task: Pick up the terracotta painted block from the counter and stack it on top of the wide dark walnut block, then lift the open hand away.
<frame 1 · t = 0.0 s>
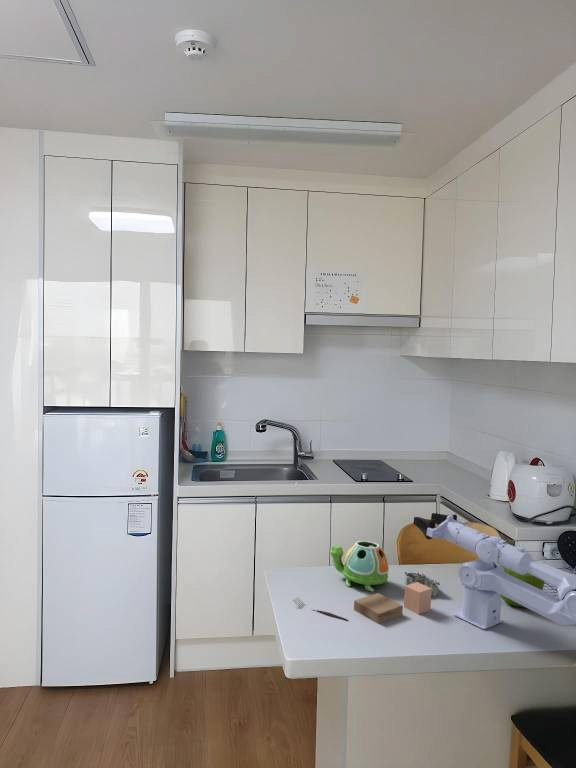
hand: (423, 518, 168), 22 cm above the countertop, tool horizontal, fingers open, 7 cm apart
apple: (518, 603, 166), on the countertop
turtle holder: (360, 582, 175), on the countertop
egg carton: (420, 590, 172), on the countertop
walnut block: (377, 614, 155), on the countertop
terracotta block: (417, 608, 159), on the countertop
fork: (320, 614, 154), on the countertop
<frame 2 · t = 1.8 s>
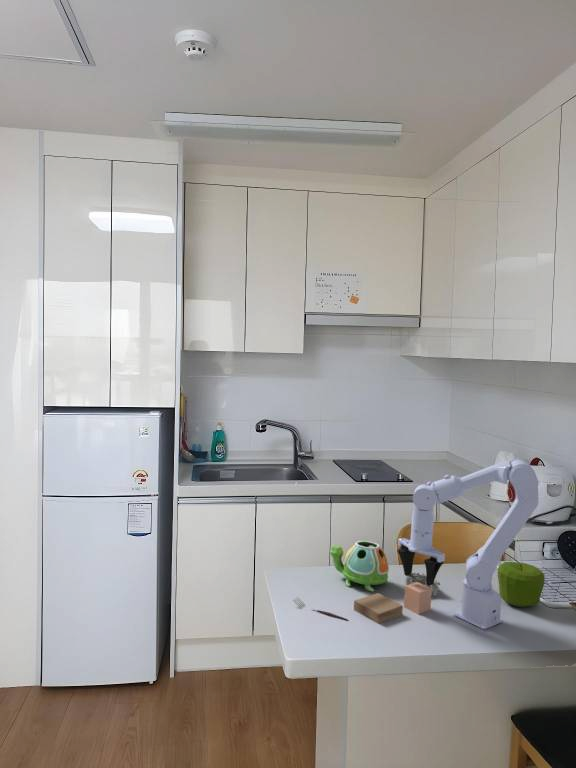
hand: (418, 579, 158), 8 cm above the countertop, tool pointing down, fingers open, 7 cm apart
nothing on the countertop moved.
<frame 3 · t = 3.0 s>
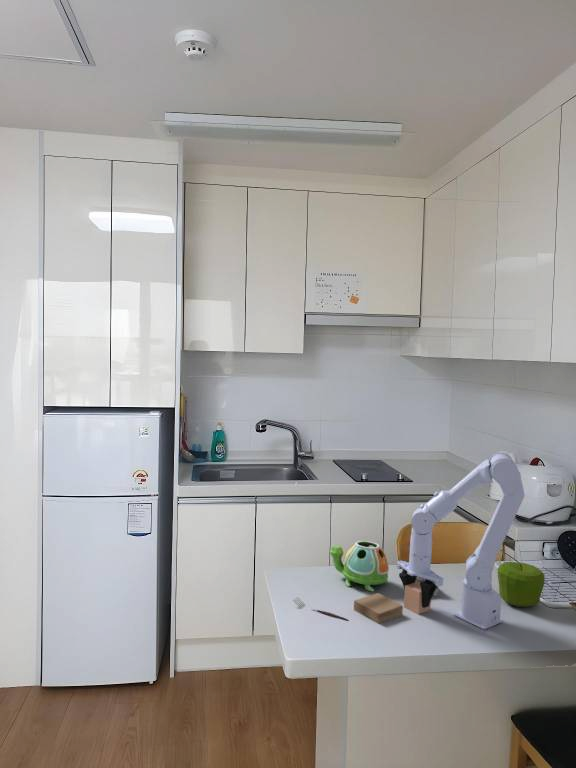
hand: (417, 602, 159), 2 cm above the countertop, tool pointing down, fingers closed on terracotta block, 5 cm apart
terracotta block: (417, 608, 159), on the countertop, touching gripper
everything else where it was.
when the fingers open (6 cm above the countertop, at t = 7.1 s): terracotta block drops 1 cm, resting on walnut block.
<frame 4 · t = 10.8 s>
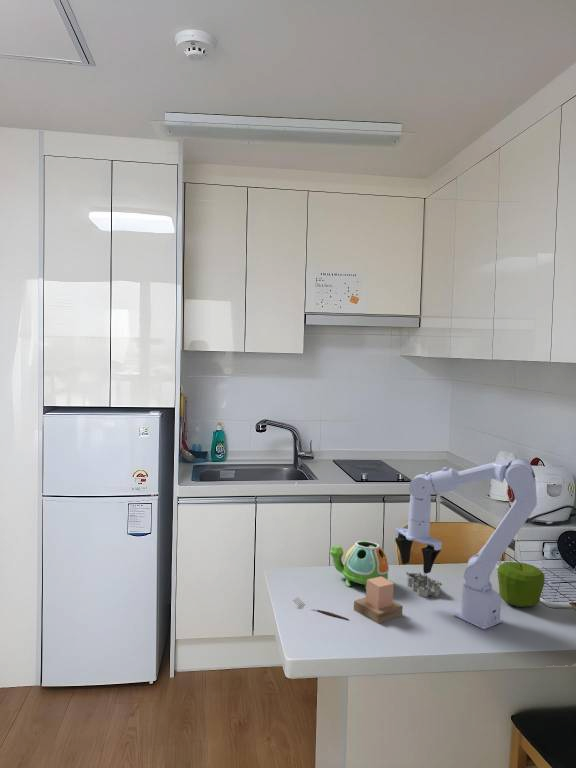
hand: (416, 567, 160), 10 cm above the countertop, tool pointing down, fingers open, 7 cm apart
walnut block: (377, 614, 155), on the countertop, touching terracotta block
terracotta block: (378, 603, 155), point 3 cm above the countertop, touching walnut block
everything else where it was.
at the end: terracotta block inside the target area on the walnut block (0.0 cm from its centre), point 3.0 cm above the walnut block's base; terracotta block tilted 0°; the gripper is holding nothing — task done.
